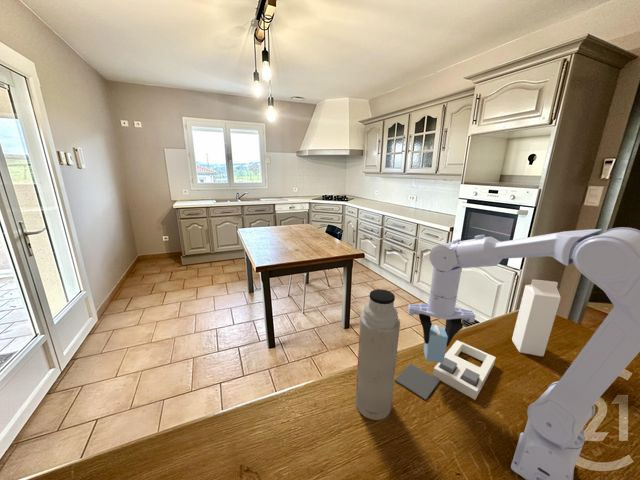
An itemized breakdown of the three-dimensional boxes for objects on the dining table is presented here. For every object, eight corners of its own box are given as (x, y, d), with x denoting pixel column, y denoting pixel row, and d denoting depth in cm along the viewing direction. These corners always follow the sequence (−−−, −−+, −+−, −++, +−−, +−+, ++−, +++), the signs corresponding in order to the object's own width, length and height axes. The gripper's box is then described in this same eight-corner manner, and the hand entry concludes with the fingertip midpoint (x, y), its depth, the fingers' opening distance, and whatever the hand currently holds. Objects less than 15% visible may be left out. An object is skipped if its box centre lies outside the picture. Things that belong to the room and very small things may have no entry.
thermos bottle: (349, 409, 59) (355, 297, 51) (363, 384, 66) (369, 281, 58) (384, 427, 55) (396, 308, 47) (395, 398, 62) (407, 290, 54)
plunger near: (473, 392, 63) (475, 381, 62) (460, 385, 65) (462, 374, 64) (477, 385, 65) (479, 374, 64) (464, 378, 67) (466, 368, 66)
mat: (425, 400, 61) (425, 399, 61) (394, 380, 67) (395, 379, 67) (439, 381, 67) (439, 380, 66) (410, 364, 72) (410, 363, 72)
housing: (475, 400, 61) (477, 391, 61) (432, 376, 68) (434, 368, 68) (493, 364, 72) (495, 357, 71) (455, 347, 79) (456, 339, 78)
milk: (511, 340, 82) (527, 274, 76) (534, 343, 81) (552, 277, 75) (519, 353, 77) (537, 283, 71) (544, 357, 75) (564, 286, 69)
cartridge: (443, 363, 65) (448, 335, 62) (426, 360, 65) (430, 333, 63) (439, 351, 68) (444, 325, 66) (423, 349, 69) (427, 323, 67)
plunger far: (450, 380, 66) (452, 369, 66) (438, 373, 69) (440, 363, 68) (455, 373, 68) (457, 363, 68) (443, 367, 71) (445, 357, 70)
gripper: (471, 287, 64) (462, 335, 68) (408, 282, 66) (403, 328, 70) (482, 302, 57) (471, 354, 61) (412, 295, 60) (406, 346, 64)
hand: (435, 342), depth 65 cm, fingers closed on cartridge, 4 cm apart
